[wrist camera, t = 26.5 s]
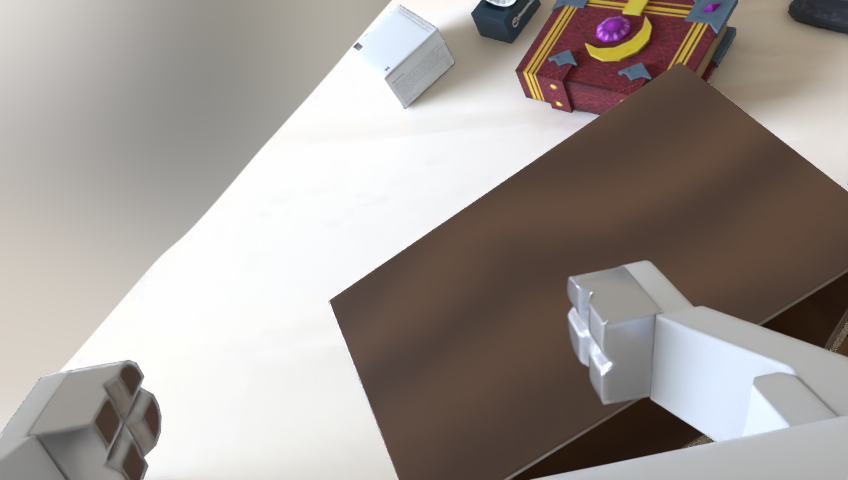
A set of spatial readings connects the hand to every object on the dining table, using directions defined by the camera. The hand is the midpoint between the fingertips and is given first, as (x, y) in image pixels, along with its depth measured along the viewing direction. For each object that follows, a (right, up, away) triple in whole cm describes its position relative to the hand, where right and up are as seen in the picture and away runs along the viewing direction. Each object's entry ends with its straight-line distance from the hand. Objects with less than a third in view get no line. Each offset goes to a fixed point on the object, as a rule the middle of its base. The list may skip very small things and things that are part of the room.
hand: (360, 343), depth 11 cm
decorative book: (+19, +18, +42) cm, 49 cm away
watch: (+11, +26, +50) cm, 57 cm away
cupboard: (+15, -8, +30) cm, 34 cm away
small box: (0, +21, +53) cm, 57 cm away
